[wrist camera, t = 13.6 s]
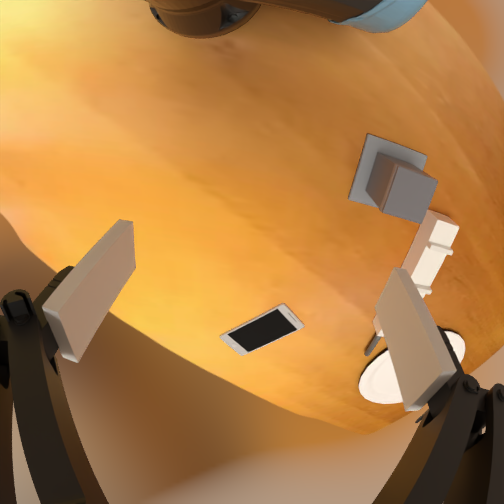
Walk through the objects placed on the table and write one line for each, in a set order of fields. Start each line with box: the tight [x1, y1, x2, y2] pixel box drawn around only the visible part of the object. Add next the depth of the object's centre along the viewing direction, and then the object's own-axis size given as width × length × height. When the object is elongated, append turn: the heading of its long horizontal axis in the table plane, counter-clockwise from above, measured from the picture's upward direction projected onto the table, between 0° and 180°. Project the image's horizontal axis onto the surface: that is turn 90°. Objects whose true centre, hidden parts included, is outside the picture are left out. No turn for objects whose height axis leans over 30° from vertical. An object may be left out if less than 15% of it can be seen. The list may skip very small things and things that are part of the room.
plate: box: [359, 331, 465, 404], centre depth 60 cm, size 29×29×2 cm
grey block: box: [365, 152, 438, 224], centre depth 35 cm, size 6×6×8 cm
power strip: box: [364, 209, 459, 356], centre depth 47 cm, size 33×5×5 cm, turn 169°
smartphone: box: [220, 303, 304, 356], centre depth 56 cm, size 7×15×1 cm, turn 128°
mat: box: [348, 134, 427, 208], centre depth 39 cm, size 10×10×1 cm
